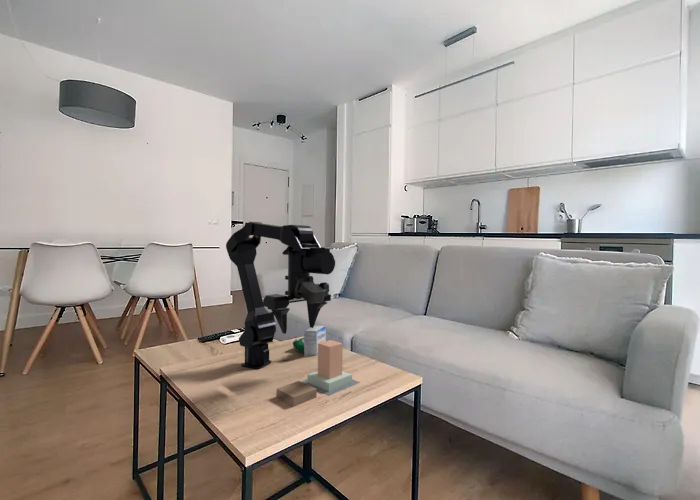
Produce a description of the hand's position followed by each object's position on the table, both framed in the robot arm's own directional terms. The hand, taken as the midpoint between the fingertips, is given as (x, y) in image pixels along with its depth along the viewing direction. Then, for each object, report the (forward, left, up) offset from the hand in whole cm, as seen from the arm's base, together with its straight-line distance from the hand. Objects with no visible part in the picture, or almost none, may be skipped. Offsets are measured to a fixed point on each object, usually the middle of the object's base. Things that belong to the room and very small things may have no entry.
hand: (298, 330), depth 96 cm
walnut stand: (+7, -12, -13) cm, 19 cm away
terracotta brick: (+10, -1, -10) cm, 14 cm away
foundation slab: (+10, -1, -12) cm, 16 cm away
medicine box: (-6, +20, -13) cm, 25 cm away
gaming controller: (-12, +23, -13) cm, 29 cm away
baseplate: (+10, -1, -13) cm, 16 cm away
